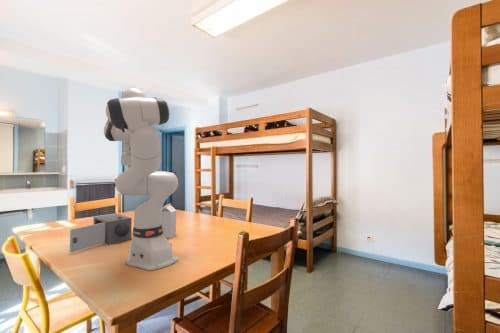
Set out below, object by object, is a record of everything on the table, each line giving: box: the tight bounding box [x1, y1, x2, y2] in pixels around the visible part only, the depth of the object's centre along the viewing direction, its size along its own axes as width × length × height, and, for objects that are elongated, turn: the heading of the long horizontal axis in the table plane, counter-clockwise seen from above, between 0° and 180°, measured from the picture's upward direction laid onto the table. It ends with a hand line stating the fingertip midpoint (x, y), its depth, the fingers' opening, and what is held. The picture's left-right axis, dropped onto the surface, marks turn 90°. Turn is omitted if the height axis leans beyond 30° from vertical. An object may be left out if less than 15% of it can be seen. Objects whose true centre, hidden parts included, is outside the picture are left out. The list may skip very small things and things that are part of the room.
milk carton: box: [161, 203, 177, 239], centre depth 137 cm, size 7×7×19 cm
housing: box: [92, 213, 133, 246], centre depth 132 cm, size 22×12×13 cm, turn 52°
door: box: [69, 222, 107, 253], centre depth 115 cm, size 16×2×11 cm, turn 153°
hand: (131, 173), depth 131 cm, fingers closed
